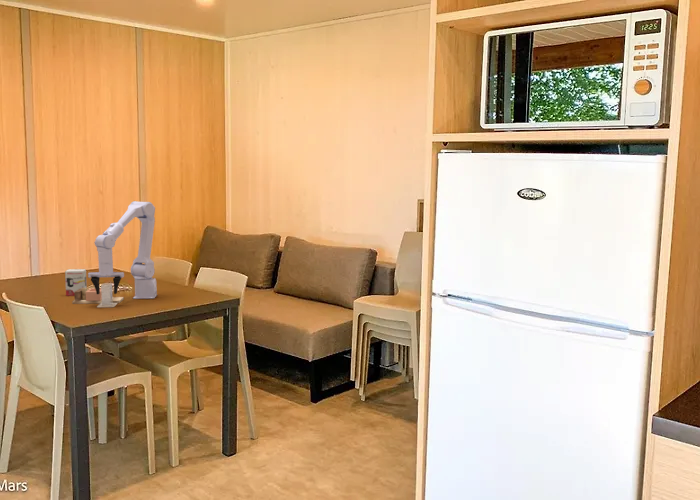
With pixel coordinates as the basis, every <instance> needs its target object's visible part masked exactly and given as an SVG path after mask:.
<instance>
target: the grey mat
mask: <svg viewBox="0 0 700 500" xmlns="http://www.w3.org/2000/svg"><path fill="white" fill-rule="evenodd" d="M118 304H119V303H113V304H112V305H107V306H102V303H98V305H97V306H96V308H115V307H116V305H118Z"/></svg>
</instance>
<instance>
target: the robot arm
mask: <svg viewBox="0 0 700 500" xmlns="http://www.w3.org/2000/svg"><path fill="white" fill-rule="evenodd" d="M155 211H156V206H155V205H154V204H153V203H152V202H151V201H137V200H136V201H135V200H134V201H132V202H130V204H129V205H128V206H127V210H126V211H125V212H124V214H123V215H122V216H121V217H120V219H118V221H117V222H112V223H110V225H109V227H107V229H106V230H105V231H104V232H102V234H99V235H97V236H96V238H95V240H94V243H93V244H94V245H95V247H96V251H97V255H98V256H97V259H98V260H97V261H98V272H97V271H96V272H93V271H92V272H88V273H87V277H88V278H89V279H90V281H91V283H92V285H93V286H94V288H95V289H96V293H97V294H99V293H100V289H99V288H100V278H112V282H113V294H114V295H116V294H118V288H119V285H120V282H121V280H122V278H124V277H125V272H123V271H121V272H120V271H114V264H113V263H114V260H113V248H114V247H115V245H116V242H117V239H118V238H119V237H120V236H121V235H122V234H123V233H124V231H125V230H124V228H125V227H126V226H128V224H129V223H130V222H131V221H132V220H133V219H135V218H137V219H138V220H139V221H140V222H141V228H140V236H139V245H138V251H137V253H138V254H137V257H135V258H134V259H133V261H132V265H131V267H130V274H131V275H132V277H133V279H134V296H133V297H132V299H133V300H134V299H136V300H137V299H140V300H141V299H155V298H156V297H157V296H158V294H157V293H158V291H157V290H158V289H157V286H158V285H157V279H156V278H155V277H154V275H155V270H156V269H155V261H153V259H152V258H151V255H152V254H151V252H152V245H153V239H154V231H155V222H156V220H155V219H156V218H155V213H156V212H155Z"/></svg>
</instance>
